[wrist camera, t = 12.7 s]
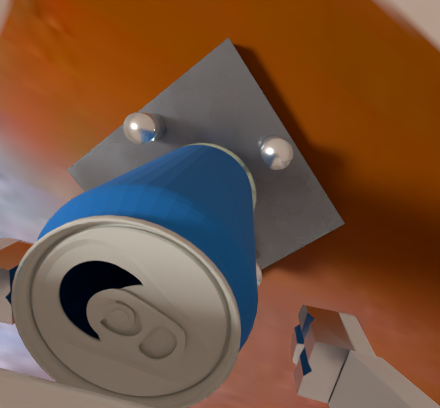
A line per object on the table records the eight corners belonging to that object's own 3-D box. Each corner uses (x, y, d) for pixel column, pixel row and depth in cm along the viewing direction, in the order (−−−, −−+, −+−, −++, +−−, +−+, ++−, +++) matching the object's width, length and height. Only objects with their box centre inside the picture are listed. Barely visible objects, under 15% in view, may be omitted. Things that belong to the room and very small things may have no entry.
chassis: (339, 217, 19) (358, 239, 16) (187, 302, 22) (176, 336, 19) (230, 42, 17) (225, 24, 13) (77, 166, 20) (41, 177, 16)
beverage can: (188, 121, 17) (64, 132, 5) (273, 185, 18) (321, 316, 6) (134, 202, 19) (-43, 338, 7) (212, 258, 19) (162, 460, 8)
